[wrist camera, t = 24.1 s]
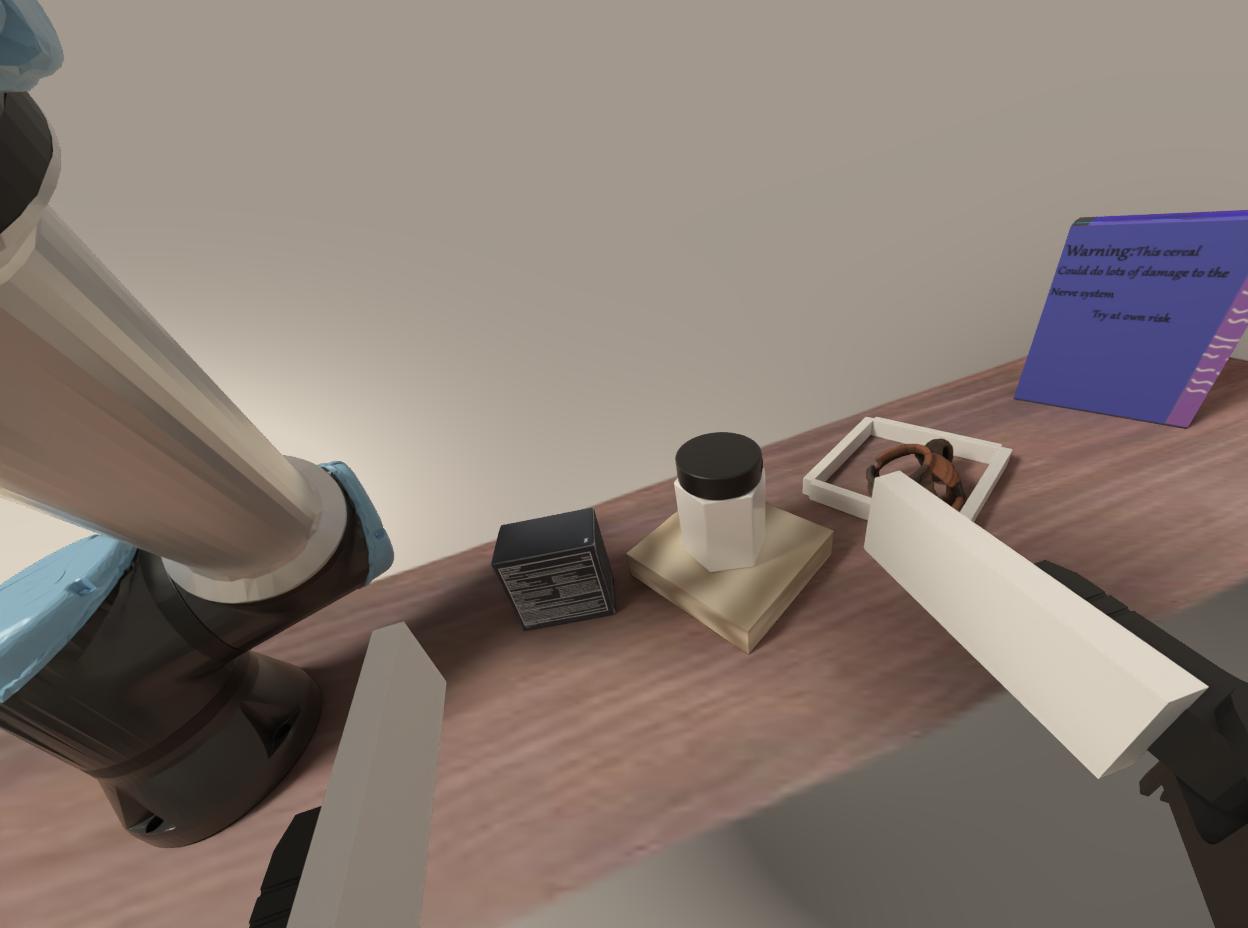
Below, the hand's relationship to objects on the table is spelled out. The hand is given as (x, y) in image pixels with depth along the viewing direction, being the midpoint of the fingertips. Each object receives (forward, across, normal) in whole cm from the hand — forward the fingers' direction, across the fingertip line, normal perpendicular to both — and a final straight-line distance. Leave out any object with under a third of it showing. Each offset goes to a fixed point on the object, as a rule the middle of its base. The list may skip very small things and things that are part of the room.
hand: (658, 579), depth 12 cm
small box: (+28, -6, -30) cm, 42 cm away
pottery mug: (+27, +37, -30) cm, 55 cm away
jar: (+26, +12, -27) cm, 39 cm away
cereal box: (+33, +71, -30) cm, 84 cm away
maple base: (+26, +12, -30) cm, 41 cm away
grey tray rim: (+30, +38, -30) cm, 57 cm away
